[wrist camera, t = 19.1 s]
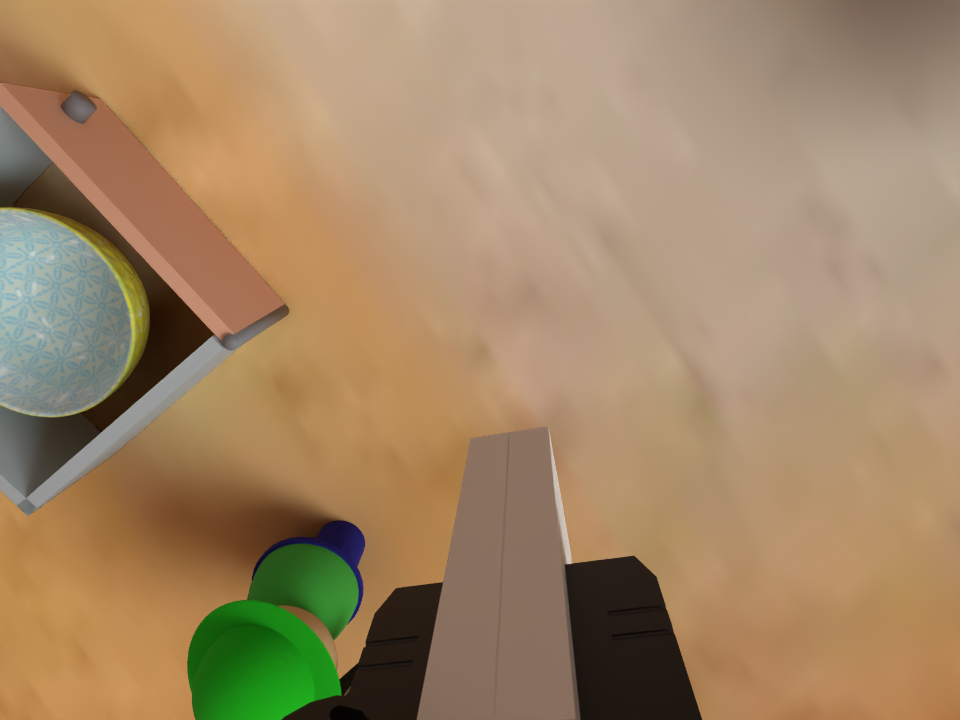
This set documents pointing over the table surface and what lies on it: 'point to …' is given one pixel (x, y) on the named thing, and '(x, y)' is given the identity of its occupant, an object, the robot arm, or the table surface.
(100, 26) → the table surface
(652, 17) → the table surface
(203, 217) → the door
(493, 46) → the table surface
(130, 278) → the bowl
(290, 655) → the toy
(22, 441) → the box
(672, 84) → the table surface
